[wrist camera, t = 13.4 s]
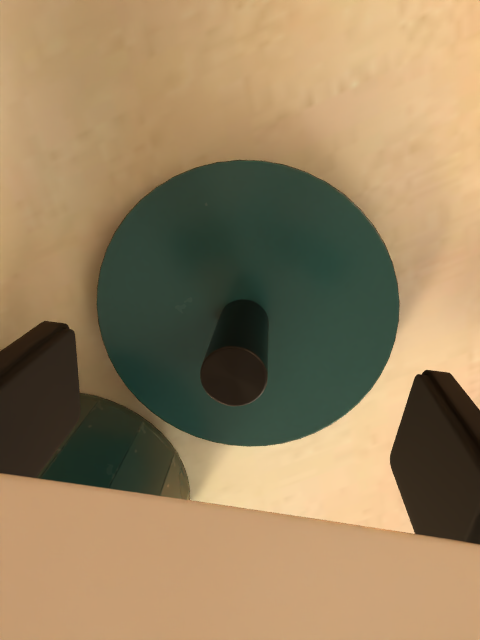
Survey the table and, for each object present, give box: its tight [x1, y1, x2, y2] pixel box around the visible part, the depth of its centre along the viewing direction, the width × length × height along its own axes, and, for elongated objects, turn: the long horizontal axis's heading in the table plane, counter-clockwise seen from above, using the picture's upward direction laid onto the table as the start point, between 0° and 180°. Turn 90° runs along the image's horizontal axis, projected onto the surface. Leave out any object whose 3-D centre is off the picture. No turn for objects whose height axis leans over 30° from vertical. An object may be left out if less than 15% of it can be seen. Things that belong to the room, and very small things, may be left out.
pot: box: [36, 393, 190, 500], centre depth 21 cm, size 14×14×8 cm
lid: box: [97, 160, 399, 446], centre depth 17 cm, size 15×15×7 cm
